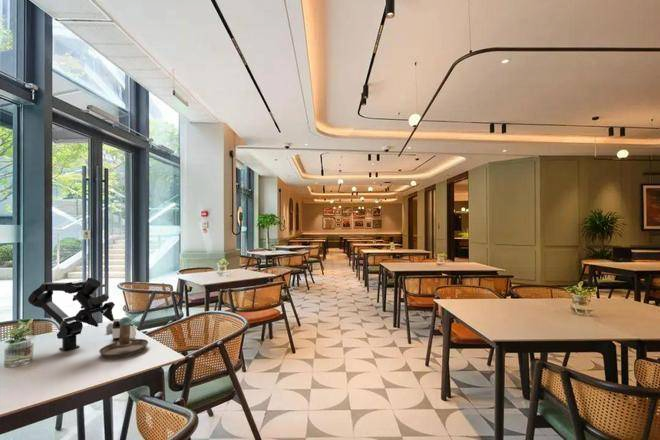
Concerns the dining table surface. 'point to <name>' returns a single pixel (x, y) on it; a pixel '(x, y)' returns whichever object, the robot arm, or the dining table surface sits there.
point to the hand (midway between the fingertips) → (105, 323)
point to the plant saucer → (123, 349)
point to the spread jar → (117, 329)
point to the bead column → (124, 333)
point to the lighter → (109, 328)
